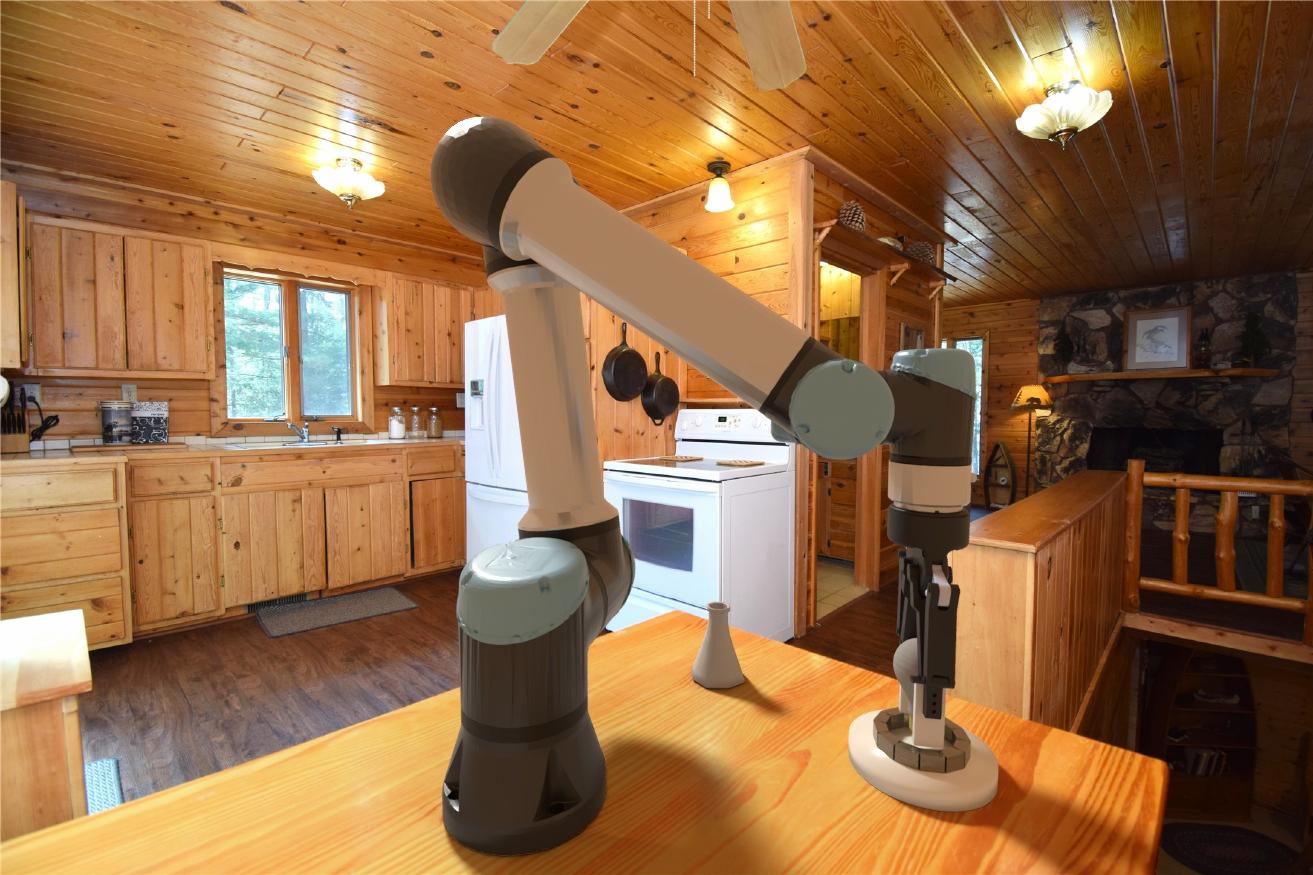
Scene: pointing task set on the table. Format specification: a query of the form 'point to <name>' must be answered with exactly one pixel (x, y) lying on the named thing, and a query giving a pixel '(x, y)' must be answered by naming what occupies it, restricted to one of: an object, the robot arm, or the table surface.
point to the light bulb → (907, 671)
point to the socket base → (918, 786)
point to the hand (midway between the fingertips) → (919, 726)
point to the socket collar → (921, 757)
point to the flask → (717, 652)
